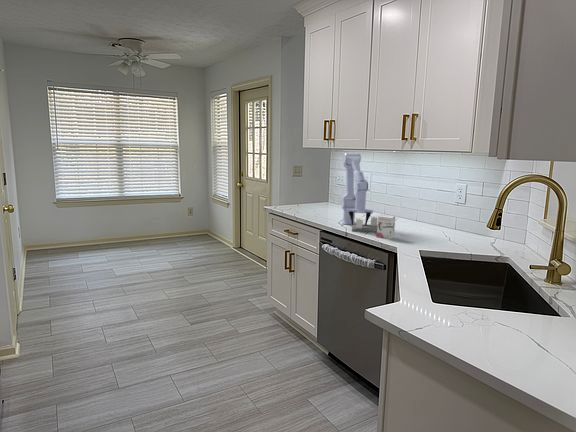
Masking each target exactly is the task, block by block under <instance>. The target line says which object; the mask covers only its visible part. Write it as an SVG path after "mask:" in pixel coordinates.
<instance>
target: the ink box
mask: <svg viewBox="0 0 576 432" xmlns="http://www.w3.org/2000/svg"><path fill="white" fill-rule="evenodd" d="M395 226H396V216H394V215H387V214H379V215H378V216H377V233H376V238H381V237H383V239H388V238H390V240H392V239H394V237H395Z"/></svg>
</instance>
